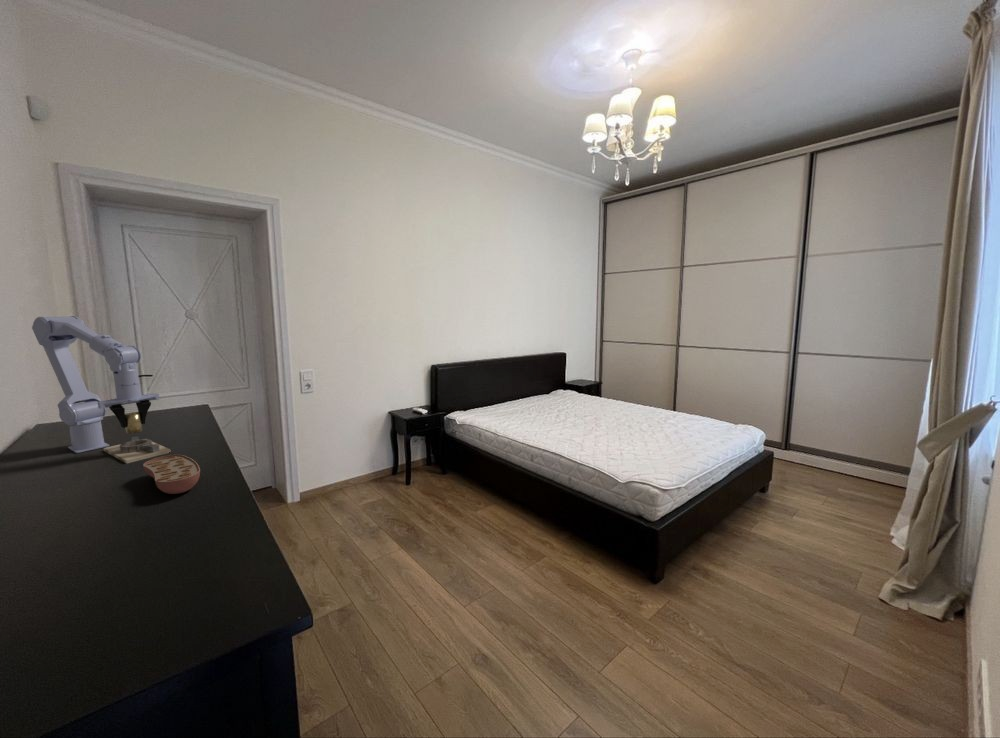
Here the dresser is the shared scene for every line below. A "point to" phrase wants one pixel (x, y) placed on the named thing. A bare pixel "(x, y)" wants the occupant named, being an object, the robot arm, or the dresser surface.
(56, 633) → the dresser surface
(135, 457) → the coupling plate
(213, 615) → the dresser surface
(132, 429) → the cylinder
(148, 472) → the anatomical model
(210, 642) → the dresser surface
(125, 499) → the dresser surface
